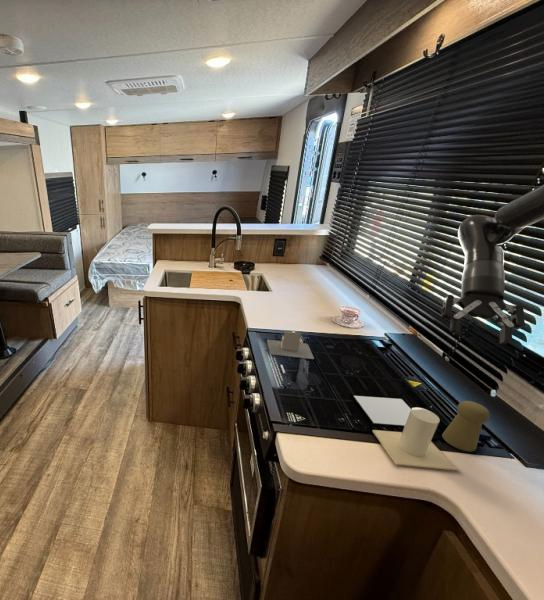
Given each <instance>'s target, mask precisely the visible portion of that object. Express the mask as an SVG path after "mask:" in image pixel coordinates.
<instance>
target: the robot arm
mask: <svg viewBox="0 0 544 600" xmlns="http://www.w3.org/2000/svg"><path fill="white" fill-rule="evenodd" d="M542 220H544V183H543V184H541V185H539V186H538V187H535V188H534V189H533V190H530V191H528V192H527V193H524V194H523V195H521V196H519V197H517V198H515V199H513V200H511V201H510V202H508V203H506V204H504V205H503V206H501V207H500V208H499V209H497V211H496V212H495V214H494V217H492V216H488V215H484V214H474V215H470V216H468V217H466V218H465V219H464V220H463V221H461V223H460V225H459V227H458V231H457V237H458V241H459V243H460V246H461V248H462V251H463V253H464V266H463V271H462V274H461V276H462V277H461V288H460V298H459V297H455V296H454V295H453V294H448V295H447V296H446V297H445V298H444V299H443V304H442V309H441V315H440V317H441V318H442V319H447V320H449V321H450V322H449V323H450V324H449V332H450V333H452V335H453V336H456V337H457V336H458V335H460V333H461V325H462V324H461V323H462V320H461V319H462V318H464V317H465V316H467V315H468V316H469V317H471V318H480V319H485V320H488V319H489V320H490V321H492V323H493V324H496V325H497V326H498V327H499V328H500V329H499V344H500V345H505V344H508V343H509V342H511V341H512V340H513V330H514V331H518V330H520V329H521V328H523V327H525V326H526V321H525V312H524V305H523V304H521V303H517V304H506V303H505V301H504V299H505V282H506V280H505V279H506V276H505V275H506V274H505V273H506V271H505V268H504V263H505V262H504V260H505V258H504V257H505V254H504V253H505V252H504V249H503V248H502V246H500V245H503V244H505V243H507V242H508V241H510V240H511V239H512V238H513V237H514V236H517V234H519V233H520V232H522V230H523V229H525V228H527V227H530V226H531V225H533V224H535V223H538V222H540V221H542ZM456 304H458V305H459V307H460V308H461V310H460V311H458V312H457V313H452V310H453V306H455V305H456ZM504 310H505V311H506V312H507V314H508V315H510V319H509V318H508V315H507V314H506V313H505V312H504Z"/></svg>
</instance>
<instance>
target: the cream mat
mask: <svg viewBox="0 0 544 600" xmlns="http://www.w3.org/2000/svg"><path fill="white" fill-rule="evenodd" d="M372 433H373V434H374V436H375V437H376V439H377V440H378V441H379V443H380V444H381V445H382V447H383V449H384V450H385V452H386V453H387V454H388V455H389V457H390V458H391V459H392V461H393V463H394V464H395V465H396V466H403V467H414V468H426V469H434V470H435V469H436V470H445V471H446V470H447V471H457V468H456V467H455V466H454V465H453V464H452V462H451V461H450V460H449V459H448V458H447V457H446V456H445V455H444V453H442V452H441V450H440V449H439V448H438V447H437V446H436V445H435V443H433V441H431V442H430V445H429V447H428V449H427V451H426V454H425V455H424V456H422V457H417V456H413V455H411V454H409V453H407V452H405V451H404V450H403V449H402V448H401V447H400V446H399V444H398V442H399V439H400V437H401V434H402V431H392V430H391V431H390V430H378V429H372Z"/></svg>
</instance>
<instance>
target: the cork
mask: <svg viewBox="0 0 544 600" xmlns="http://www.w3.org/2000/svg"><path fill="white" fill-rule="evenodd" d="M456 410H457V414H456V415H455V417H454V418H453V419H452V421H451V422H450V423H449V425H448V426H447V427H446V428H445V430H444V431H443V433H442V434H441V437H442V439H443V440H444V441H445V442H446V443H447V444H448V445H450V446H451V447H453V448H456V449H458V450H461V451H463V452H470V453H471V452H475V451H476V450H477V447H478V442H479V439H480V436H481V435H480V434H481V431H482V427H483V423H486V422H487V421H489V418H490V416H491V414H490V411H489V410H488V408H486V407H485V406H483V405H482V404H480V403H478V402H475V401H471V400H463V401H461V402H459V403H458V405H457V407H456Z"/></svg>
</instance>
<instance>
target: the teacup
mask: <svg viewBox="0 0 544 600" xmlns="http://www.w3.org/2000/svg"><path fill="white" fill-rule="evenodd" d="M339 311H340V314H341V315H334V316H332V318H331V320H332V322H334V323H335V324H337V325H339V326H342V327H344V328H345V327H346V328H351V329H360V328H363V327H364V326H365V323H364V322H363V321H362V320H361V319H359V315H360V314H362V310H361V309H359V308H357V307H354V306H350V305H341V306H340V307H339ZM343 320H344V321H343ZM345 321H347V322H345ZM354 321H355V322H354Z"/></svg>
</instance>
